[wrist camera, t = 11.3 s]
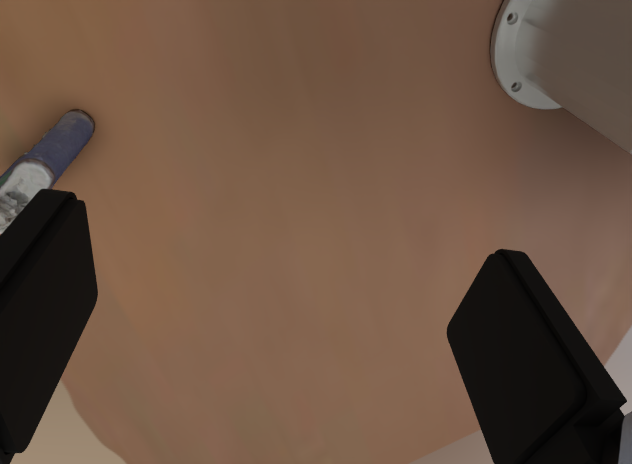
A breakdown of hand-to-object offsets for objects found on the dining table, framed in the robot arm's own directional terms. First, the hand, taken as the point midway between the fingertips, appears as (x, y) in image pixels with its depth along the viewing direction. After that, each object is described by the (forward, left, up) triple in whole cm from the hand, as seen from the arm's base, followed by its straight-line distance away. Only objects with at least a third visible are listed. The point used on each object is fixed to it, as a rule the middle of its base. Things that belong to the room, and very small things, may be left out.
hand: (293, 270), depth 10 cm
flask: (+17, +13, -28) cm, 35 cm away
